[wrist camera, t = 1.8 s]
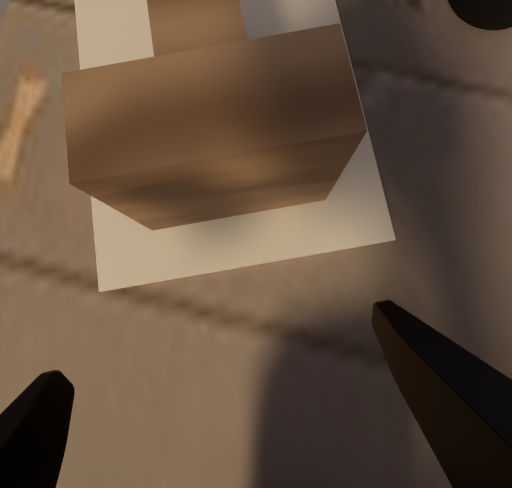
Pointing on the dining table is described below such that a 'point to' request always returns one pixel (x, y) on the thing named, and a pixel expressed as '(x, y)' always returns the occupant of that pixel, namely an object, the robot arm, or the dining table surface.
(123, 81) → the t block
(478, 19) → the mug
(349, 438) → the dining table surface
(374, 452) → the dining table surface
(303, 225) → the mat
